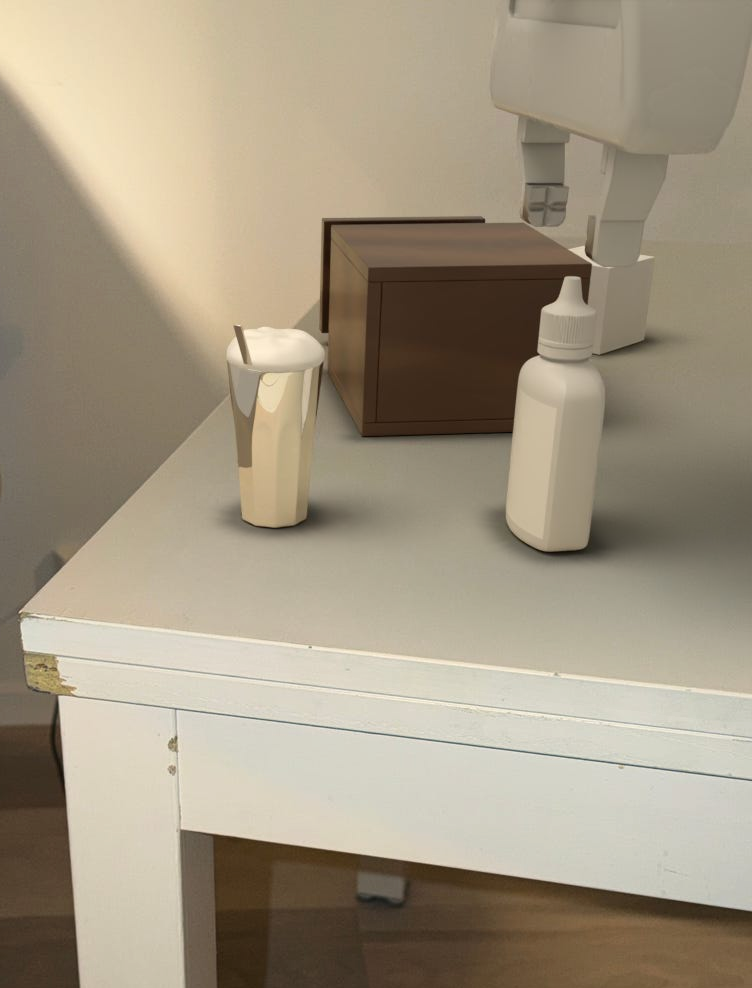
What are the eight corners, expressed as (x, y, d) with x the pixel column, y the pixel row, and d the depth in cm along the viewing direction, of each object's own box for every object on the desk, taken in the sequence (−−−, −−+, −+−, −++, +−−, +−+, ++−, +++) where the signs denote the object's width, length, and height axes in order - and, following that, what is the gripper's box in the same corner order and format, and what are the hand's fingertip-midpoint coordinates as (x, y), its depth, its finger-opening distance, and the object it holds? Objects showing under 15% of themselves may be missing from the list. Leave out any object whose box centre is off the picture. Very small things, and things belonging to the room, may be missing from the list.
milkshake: (199, 525, 63) (195, 318, 59) (261, 493, 67) (262, 296, 63) (277, 546, 61) (279, 332, 56) (337, 511, 65) (343, 309, 60)
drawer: (309, 313, 99) (311, 206, 95) (457, 310, 100) (464, 204, 97) (346, 376, 83) (350, 251, 80) (520, 372, 85) (532, 248, 81)
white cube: (599, 355, 92) (609, 268, 89) (528, 340, 96) (536, 256, 93) (644, 340, 96) (655, 256, 93) (574, 326, 100) (583, 245, 97)
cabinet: (327, 373, 88) (331, 224, 83) (510, 368, 89) (524, 222, 84) (361, 436, 75) (368, 267, 71) (573, 430, 77) (592, 263, 72)
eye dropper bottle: (488, 547, 61) (511, 286, 55) (510, 506, 66) (533, 262, 60) (583, 560, 60) (616, 294, 54) (598, 517, 64) (630, 269, 59)
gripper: (470, -113, 59) (446, 205, 65) (628, -154, 41) (575, 293, 47) (604, -110, 60) (569, 205, 66) (820, -148, 42) (742, 291, 48)
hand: (573, 243), depth 56 cm, fingers open, 8 cm apart
